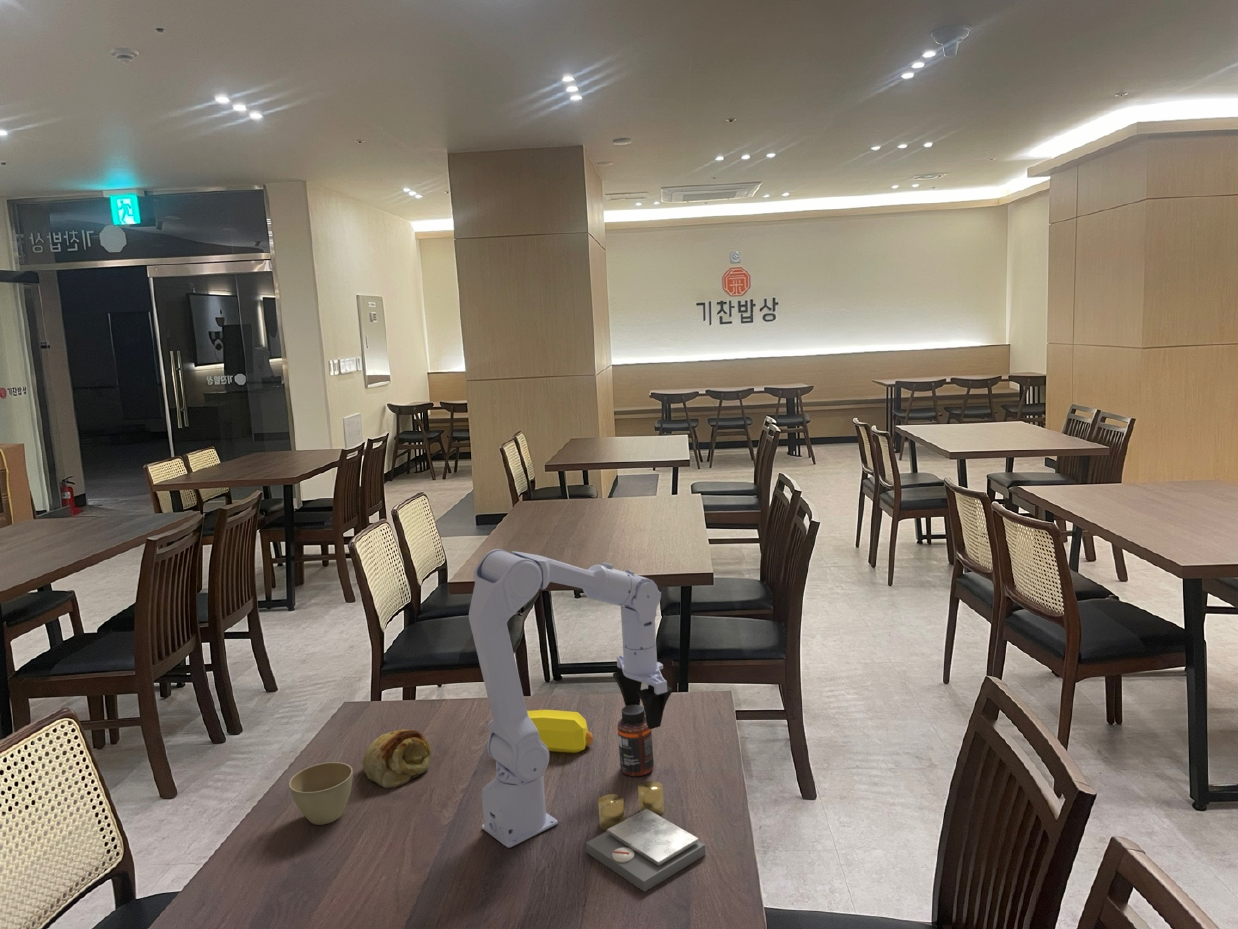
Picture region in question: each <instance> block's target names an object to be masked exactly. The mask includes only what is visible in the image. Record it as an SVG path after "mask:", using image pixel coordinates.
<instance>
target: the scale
mask: <svg viewBox="0 0 1238 929" xmlns="http://www.w3.org/2000/svg"><path fill="white" fill-rule="evenodd" d="M585 846H586V853H587V854H588V855H590V856H591V857H592V858H594V859H596V860H597V861H598V860H599V861H598V862H600V863H601V864H603V865H604V866H606V865H607V866H608V867H607V866H606V867H607V868H609V869H610V868H611V869H610V870H612V871H613V872H615V871H616V872H617V873H618V874H617V873H616V872H615V873H616V874H617V875H619V876H620V877H622V878H623V877H624V878H623V879H625V880H626V879H627V880H626V881H627V882H629V883H631V884H632V883H633V884H634V885H633V884H632V885H633V886H634V887H637V888H638V889H639V888H640V889H639V890H641V889H642V890H643V892H644V893H645V891H646V892H647V891H649V890H651V889H652V888H654V887H655V886H657V885H659V884H660V883H662V882H664V881H666V880H667V879H668V878H670V877H672V876H673V875H674V874H676V873H678V872H679V871H681V870H683V869H685V868H686V867H688V866H689V865H691V864H693V863H695V862H696V861H698V860H699V859H702V858H703V857H704V856H706V844H705V843H702V842H701V841H699V842H698V843H696V844H695V845H693V846H691V847H690V848H688V849H686V850H685V851H683V852H681V853H679V854H678V855H676V856H674V857H673V858H671V859H669V860H668V861H666V862H664V863H663V864H661V865H659V866H658V865H656V864H655V863H653V862H652V861H650V860H648V859H647V858H645V857H644V856H642V855H641V854H639V853H637V852H636V851H634V850H633V849H631V848H630V847H628V846H627V845H625V844H623V843H622V842H620V841H619V840H617V839H616V838H614V837H612V836H611V835H609V834H608V833H607V831H605V832H603V833H601V834H599V835H597V836H595V837H594V838H592V839H590V840H588V841H586V842H585ZM648 889H649V890H648ZM642 890H641V891H642Z"/></svg>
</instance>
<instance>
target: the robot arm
mask: <svg viewBox="0 0 1238 929" xmlns="http://www.w3.org/2000/svg"><path fill="white" fill-rule="evenodd" d="M472 573H473V579H474V586H473V590H472V591H473V592H472V596H471V600H470V601H471V602H470V605H469V609H468V610H469V611H468V621H469V625H470V629H471V633H472V636H473V637H472V638H473V642H474V646H475V650H476V655H477V658H478V662H479V667H480V670H481V675H482V678H483V683H484V687H485V692H486V695H487V696H486V697H487V699H488V700H487V701H488V703H489V708H490V712H491V715H492V719H491V720H490V721H489V722H488V724H487V729H488V739H487V744H486V745H487V749H486V750H487V753H488V755H489V756H490V757H491V758H492V760H494V761H495V767H496V768H495V770H496V771H495V772H496V773H495V774H496V775H495V776H494V778H493V779H492V780H491V781H490V782H488V783H487V784H485V785H484V786H483V787H482V789H481V803H482V804H481V805H482V806H481V807H482V816H483V824H482V825H481V829H483V830H484V831H485V832H487V833H488V834H489V836H492V837H493V838H494V839H496V840H497V841H498V842H499V843H501V844H502V845H503V846H505V847H506V848H509V849H510V848H512V847H515V846H516V845H518V844H520V843H522V842H525V841H527V840H528V839H530V838H533V837H534V836H536V835H538V834H540V833H542V832H544V831H547V830H548V829H550V828H552V827H554V826H556V825H557V824H559V822H558V820H557V819H556V818H555V817H554V816H552V815H550V814H549V813H548V812H547V809H546V798H545V795H546V794H545V784H544V783H545V782H544V773H545V771H546V769H547V768H548V766H549V762H550V751H549V750H548V748H547V746H546V745H545V744H544V743H543V742H542V741H541V739H540V736H539V732H538V730H537V728H536V727H535V725H534V723H533V722H532V720H531V719H530V717H529V716H528V713H527V711H528V709H527V705H526V702H525V697H524V693H523V692H524V691H523V688H522V683H521V679H520V675H519V670H518V666H517V663H516V658H515V653H514V650H513V644H512V641H511V635H510V632H509V628H508V622H509V620H510V618H512V617H513V616H514V615H515V614H516V613H518V611H520V610H521V609H522V608H523V607H524V606H525V605H526V604H528V602H529V601H530V600H531V599H532V598H533V597H534V596H535V595H536V594H537V593H538V591H539V590H546V588H548V586H549V584H550V583H555V584H560V585H565V586H569V587H573V588H579V589H582V592H583V593H584V595H585V596H586V597H587V598H588V599H590V600H594V601H598V602H601V603H606V604H610V605H614V606H618V607H620V618H621V619H620V620H621V621H620V622H621V636H622V637H621V638H622V652H623V654H621V655H619V656H618V655H617V656H616V665H617V668H618V669H619V670H618V671H615V672H613V673H612V677H613V679H614V680H615V682H616V683H617V686H618V687H619V690H620V692H621V695H622V699H623V703H624V707H625V706H628V705H640V706H641V702H642V707H643V708H644V712H645V717H646V722H647V726H648V728H649V729H651V730H653V729H656V728H660V727H661V725H662V720H663V715H664V710H665V707H666V704H667V702H668V700H669V697H671V694H672V693H673V692H672V690H673V689H672V688H671V687H670V686H669V685H668V681H667V680H666V679H665V678H664V677H663V675H662V673H661V670H663V669H664V664H663V663H661V662H660V661H658V658H657V657H658V656H657V654H658V652H657V634H656V617H657V609H658V606H659V605H660V602H661V599H662V591H660V590H659V588H658V585H657V583H655V581H654V580H653V579H650V578H649V577H648V578H647V577H644V576H642V575H639V574H636V573H635V571H633V570H630V569H625V571H623V570H621V569H617V568H614V564H610V563H608V562H604V561H603V562H602V564H594V565H591V566H590V567H589V568H588V569H586V568H582V567H579V566H575V565H572V564H569V563H565V562H563V561H559V560H556V559H553V558H549V557H546V556H543V555H539V554H535V553H533V554H532V553H527V552H522V551H513V550H511V553H510V552H509V551H507V550H505V549H501V548H495V549H492V550H489V551H488V552H486V554H484V555H483V557H482V558H481V559H480V561H479V562H478V564H477V565H476V566H475V567H474V569H473V571H472ZM642 683H644V684H646V685H647V688H643V689H642Z"/></svg>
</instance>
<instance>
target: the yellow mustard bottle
mask: <svg viewBox="0 0 1238 929" xmlns="http://www.w3.org/2000/svg"><path fill="white" fill-rule="evenodd" d="M527 713H528V716H529V717H530V719H531V720H532V722H533V723H534V725H535V727H536V728H537V730H538V732H539V736H540V739H541V741H542V742H543V743H544V744H545V745H546V746H547V748H548V750H549V752H558V753H573V754H576V753H580V752H582V751H584V750H585V749H586V747H587V746H589V745H592V744H593V743H592V742H593V741H594V737H593V733H592V732H591V731H589V730H588V725H587V720H586V719H585V718H584V717H583V716H582V714H580V713H579V712H578V711H568V710H567V711H566V710H556V709H555V710H553V709H537V710H527Z"/></svg>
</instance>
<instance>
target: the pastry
mask: <svg viewBox="0 0 1238 929" xmlns="http://www.w3.org/2000/svg"><path fill="white" fill-rule="evenodd" d="M431 754H432V746H431V744H430V742H429V741H428V740H427V739H426V737H425V736H424V734H423V733H422V732H421V731H419V730H416V729H398V730H397V729H395V730H394V731H389V732H387V733H384V734H380V735H379V736H378V737H376V738H375V739H374V740H372V742H371V743H370V745H369V746H368V747H367V749H366V751H365V753H364V756H363V759H362V768H363V770H364V773H365V774H366V777H367V779H369V780H370V781H371V782H374V783H376V784H377V785H379V787H383V788H384V789H386V788H389V789H393V788H396V787H399V786H402V785H405V784H406V783H409V781H411V780H413V779H415V778H417V777H419V776H420V775H423V774H424V773H425V772H427V770H428V769H429V767H430V764H431V758H432V757H431Z"/></svg>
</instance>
